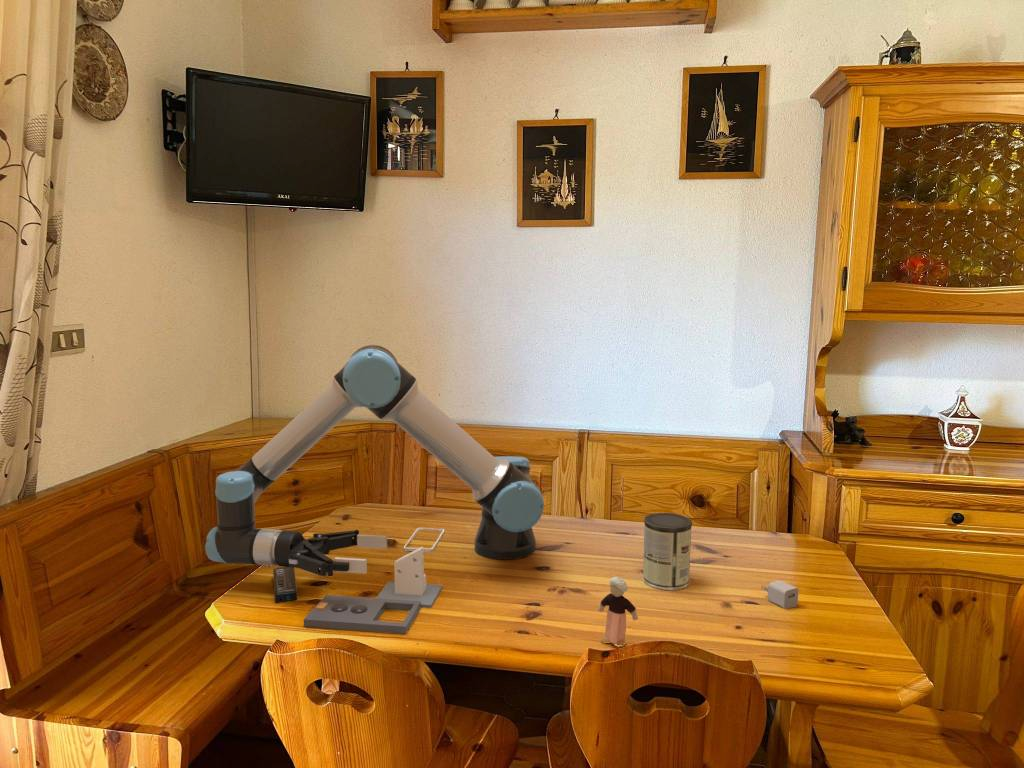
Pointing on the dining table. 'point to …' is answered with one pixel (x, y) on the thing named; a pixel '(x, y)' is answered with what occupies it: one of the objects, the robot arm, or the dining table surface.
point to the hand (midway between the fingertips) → (377, 553)
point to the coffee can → (667, 551)
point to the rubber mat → (426, 598)
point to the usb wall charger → (782, 594)
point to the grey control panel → (360, 614)
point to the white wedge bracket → (410, 574)
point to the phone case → (423, 548)
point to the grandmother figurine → (617, 612)
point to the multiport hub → (284, 584)
